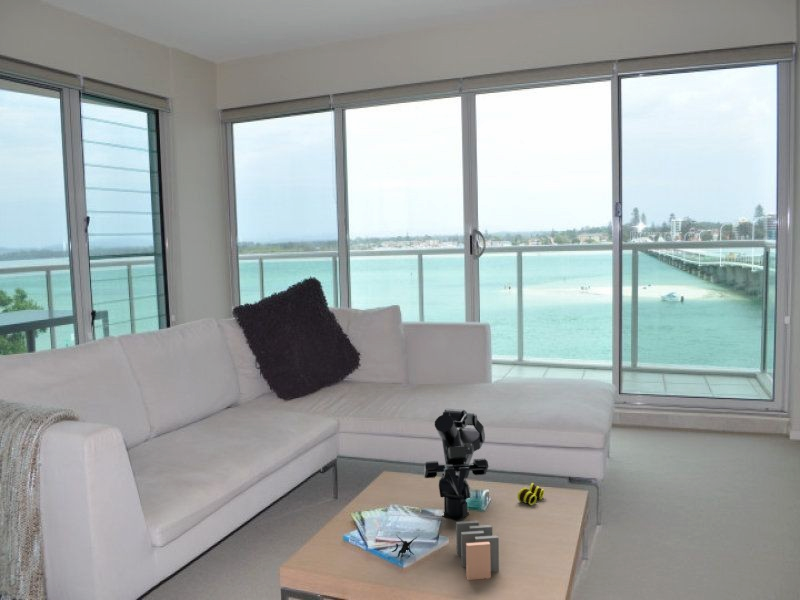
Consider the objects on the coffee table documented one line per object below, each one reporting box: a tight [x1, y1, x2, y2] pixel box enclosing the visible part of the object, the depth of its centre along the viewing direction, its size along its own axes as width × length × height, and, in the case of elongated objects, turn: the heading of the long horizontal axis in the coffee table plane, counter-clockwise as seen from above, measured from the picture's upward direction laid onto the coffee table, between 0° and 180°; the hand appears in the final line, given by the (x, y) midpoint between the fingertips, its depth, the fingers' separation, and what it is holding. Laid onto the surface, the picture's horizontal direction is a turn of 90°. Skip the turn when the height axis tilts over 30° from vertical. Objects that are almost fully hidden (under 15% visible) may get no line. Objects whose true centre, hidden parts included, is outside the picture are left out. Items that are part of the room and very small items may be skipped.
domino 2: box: [455, 520, 480, 557], centre depth 180 cm, size 1×6×9 cm, turn 96°
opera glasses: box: [517, 482, 545, 506], centre depth 217 cm, size 10×5×5 cm, turn 140°
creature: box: [391, 535, 418, 558], centre depth 179 cm, size 8×5×8 cm
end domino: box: [465, 542, 492, 581], centre depth 167 cm, size 1×6×9 cm, turn 96°
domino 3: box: [460, 531, 484, 568], centre depth 174 cm, size 1×6×9 cm, turn 96°
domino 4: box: [475, 535, 500, 572], centre depth 171 cm, size 1×6×9 cm, turn 96°
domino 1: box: [469, 524, 493, 536], centre depth 177 cm, size 1×6×9 cm, turn 96°
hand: (459, 495), depth 190 cm, fingers closed
